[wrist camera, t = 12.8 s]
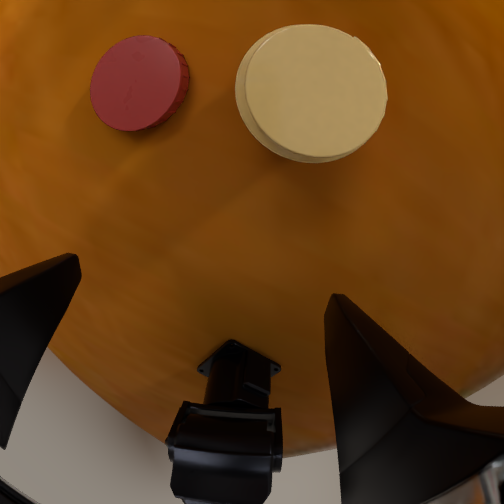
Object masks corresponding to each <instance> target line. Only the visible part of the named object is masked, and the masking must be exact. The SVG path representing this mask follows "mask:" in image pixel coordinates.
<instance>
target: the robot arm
mask: <svg viewBox="0 0 504 504" xmlns="http://www.w3.org/2000/svg"><path fill="white" fill-rule="evenodd" d="M81 276H82V274H81V268H80V263H79V258H78V256H77V255H76V254H72V253H66V254H63V255H60V256H57V257H54V258H51V259H48V260H46V261H43V262H40V263H37V264H35V265H32V266H29V267H27V268H24V269H21V270H19V271H16V272H13V273H11V274H8V275H6V276H3V277H1V278H0V447H1V448H2V449H4V450H5V449H6V447H7V443H8V440H9V437H10V434H11V431H12V428H13V425H14V422H15V420H16V417H17V414H18V411H19V409H20V406H21V403H22V401H23V398H24V396H25V393H26V391H27V388H28V386H29V384H30V382H31V379H32V377H33V375H34V373H35V370H36V368H37V366H38V364H39V362H40V360H41V357H42V356H43V354H44V352H45V350H46V348H47V346H48V344H49V342H50V340H51V338H52V336H53V334H54V332H55V330H56V329H57V327H58V325H59V323H60V321H61V319H62V318H63V316H64V314H65V312H66V310H67V308H68V306H69V304H70V302H71V299H72V297H73V295H74V293H75V291H76V289H77V287H78V285H79V283H80V280H81ZM324 330H325V356H326V365H327V371H328V378H329V385H330V392H331V400H332V408H333V416H334V424H335V433H336V442H337V450H338V451H337V452H338V462H339V472H340V474H339V475H340V489H341V502H342V503H341V504H504V407H496V406H494V407H493V406H479V405H476V404H473V403H471V402H468V401H467V400H465V399H464V398H463V397H462V396H460V395H459V394H458V393H457V392H455V391H454V390H453V389H451V388H450V387H449V386H448V385H446V384H445V383H444V382H443V381H441V380H440V379H439V378H438V377H436V376H435V375H434V374H433V373H432V372H430V371H429V370H428V369H427V368H426V367H425V366H423V365H422V364H421V363H420V362H419V361H418V360H417V359H416V358H415V357H413V356H412V355H411V354H409V352H408V351H407V350H406V349H405V348H404V347H403V346H401V345H400V344H399V343H398V342H397V341H396V340H395V339H394V338H393V337H392V336H390V335H389V334H388V333H387V332H386V331H385V330H384V329H383V328H382V327H380V326H379V325H378V324H377V323H376V322H375V321H374V320H373V319H371V318H370V317H369V316H368V315H367V314H366V313H365V312H364V311H362V310H361V309H360V308H359V307H358V306H357V305H356V304H354V303H353V302H352V301H351V300H350V299H349V298H348V297H346V296H345V295H344V294H336V293H333V294H332V295H331V297H330V299H329V302H328V305H327V308H326V311H325V314H324ZM231 344H232V345H231ZM197 371H198V372H199V373H201V374H203V375H205V376H207V377H208V382H207V387H206V392H205V397H204V402H203V404H199V403H191V402H190V401H183V404H182V406H181V407H180V408H179V411H178V413H177V415H176V418H175V420H174V422H173V425H172V427H171V430H170V432H169V434H168V437H167V438H166V440H165V445H166V446H167V447H168V455H169V459H170V461H171V462H172V463H173V470H172V476H171V483H170V487H171V489H172V491H173V494H174V496H175V497H176V498H180V499H182V501H183V502H184V504H263V503H264V502H265V500H266V499H267V497H268V496H269V494H270V493H271V487H272V472H280V471H281V467H282V455H283V436H282V419H281V408H275V409H270V408H268V403H269V395H270V391H271V377H272V376H274V375H275V374H277V373H278V372H280V371H281V366H280V365H279V364H277V363H275V362H274V361H272V360H270V359H268V358H266V357H264V356H262V355H260V354H259V353H257V352H255V351H253V350H251V349H250V348H248V347H246V346H244V345H242V344H241V343H239V342H237V341H235V340H228V341H227V342H226V343H225V344H223V345H222V346H221V347H220V348H219V349H218V350H216V351H215V352H214V353H213V354H212V355H211V356H209V357H208V358H207V359H206V360H205V361H204V362H202V363H201V364H200V365H199V366H198V368H197ZM0 504H40V503H38V502H36V501H35V500H33V499H32V498H30V497H29V496H27V495H26V494H24V493H23V492H21V491H19V490H18V489H17V488H15V487H14V486H13V485H11V484H9V482H7V481H6V480H5V479H3V478H2V477H1V476H0Z"/></svg>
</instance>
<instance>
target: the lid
mask: <svg viewBox="0 0 504 504" xmlns="http://www.w3.org/2000/svg"><path fill="white" fill-rule="evenodd" d="M183 56H184V55H183V54H181V53H180V52H179V51H178V50H177V49H176V47H175V46H173V45H172V44H170V43H169V44H168V43H167V42H166V41H164V40H163V39H161V38H156V37H152V36H146V35H143V36H134V37H130V38H127V39H125V40H123V41H121V42H119V43H117V44H116V45H114V46H113V47H112V48H110V49H109V50H108V51H107V52H106V53H105V54H104V56H103V57H102V58H101V59H100V61H99V62H98V64H97V66H96V68H95V70H94V73H93V76H92V80H91V86H90V95H91V102H92V105H93V108H94V110H95V112H96V114H97V115H98V117H99V118H100V119H101V120H102V121H103V122H104V123H105V124H107V125H108V126H110V127H112V128H114V129H117V130H121V131H134V130H136V131H140V130H144V129H145V128H152V127H156V125H158V124H160V123H162V122H164V121H167V120H166V119H168V118H169V117H170V116H171V115H172V114H173V113H176V110H177V109H178V108H179V106H180V105H181V103H182V102H183V99H184V97H185V95H186V92H187V91H188V89H187V88H188V83H189V78H190V77H189V72H188V65H187V64H186V61H185V59H184V58H183Z"/></svg>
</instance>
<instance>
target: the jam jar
mask: <svg viewBox="0 0 504 504" xmlns="http://www.w3.org/2000/svg"><path fill="white" fill-rule="evenodd" d="M235 96H236V102H237V107H238V110H239V113H240V115H241V117H242V119H243V121H244V123H245V125H246V126H247V128H248V129H249V131H250V132H251V133H252V135H253V136H254V137H255V138H256V139H257V140H258V141H259V142H260V143H261V144H263V145H264V146H265V147H266V148H268V149H269V150H271V151H272V152H274V153H276V154H278V155H280V156H282V157H285V158H288V159H290V160H294V161H298V162H305V163H323V162H330V161H334V160H337V159H340V158H343V157H345V156H347V155H349V154H351V153H353V152H354V151H355V150H357V149H358V148H360V147H361V146H362V145H363V144H365V143H366V142H367V141H368V139H369V138H370V137H371V136H372V135H373V134H374V133H375V132H376V131H377V129H378V127H379V125H380V122H381V120H382V118H383V117H384V114H385V108H386V101H387V100H388V99H387V89H386V80H385V77H384V74H383V72H382V69H381V67H380V63H379V62H378V60H377V59H376V58H375V56H374V55H373V53H372V52H371V51H370V48H368V47H367V46H366V45H365V44H364V43H363V42H361V41H360V40H359V39H358V38H357V37H354V38H353V37H351V36H350V35H348V34H347V33H344V32H342V31H340V30H338V29H335V28H332V27H328V26H323V25H314V24H305V25H304V24H302V25H292V26H287V27H283V28H280V29H277V30H274V31H272V32H270V33H268V34H267V35H265V36H264V37H262V38H261V39H259V40H258V41H257V42H256V43H255V44H254V45H253V46H252V47H251V48H250V49H249V50H248V52H247V53H246V54H245V56H244V58H243V60H242V61H241V64H240V66H239V69H238V72H237V76H236V83H235Z"/></svg>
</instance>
